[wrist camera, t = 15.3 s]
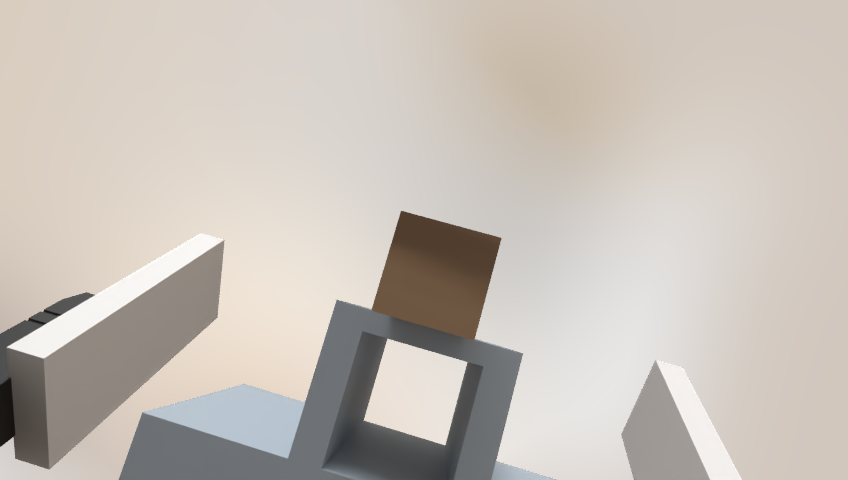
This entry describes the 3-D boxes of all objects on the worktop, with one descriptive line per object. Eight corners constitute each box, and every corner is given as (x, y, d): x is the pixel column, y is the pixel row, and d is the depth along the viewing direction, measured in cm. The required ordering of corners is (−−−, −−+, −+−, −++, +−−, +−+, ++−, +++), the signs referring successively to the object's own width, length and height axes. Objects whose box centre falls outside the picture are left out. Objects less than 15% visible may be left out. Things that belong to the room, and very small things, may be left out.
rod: (473, 340, 17) (501, 237, 18) (371, 310, 18) (401, 210, 18) (457, 333, 41) (469, 289, 41) (414, 321, 41) (426, 277, 42)
